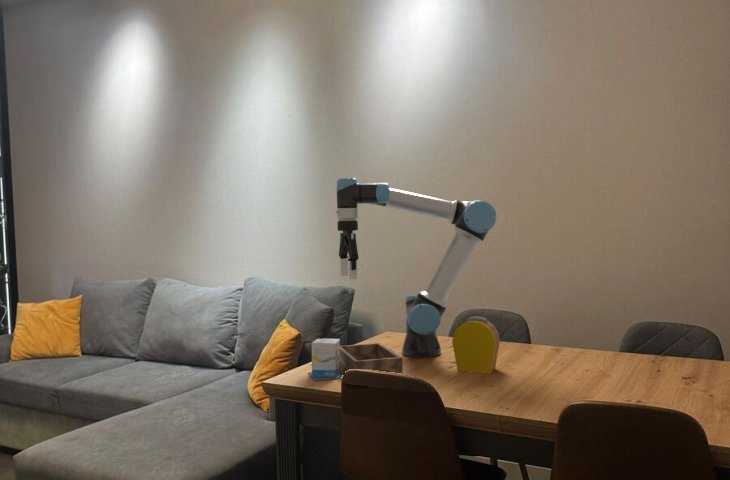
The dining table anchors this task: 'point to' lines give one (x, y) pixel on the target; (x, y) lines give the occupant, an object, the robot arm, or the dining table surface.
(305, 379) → the dining table surface
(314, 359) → the ink box
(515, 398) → the dining table surface
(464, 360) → the yellow arched block
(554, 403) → the dining table surface
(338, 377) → the slate pad
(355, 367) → the walnut frame
